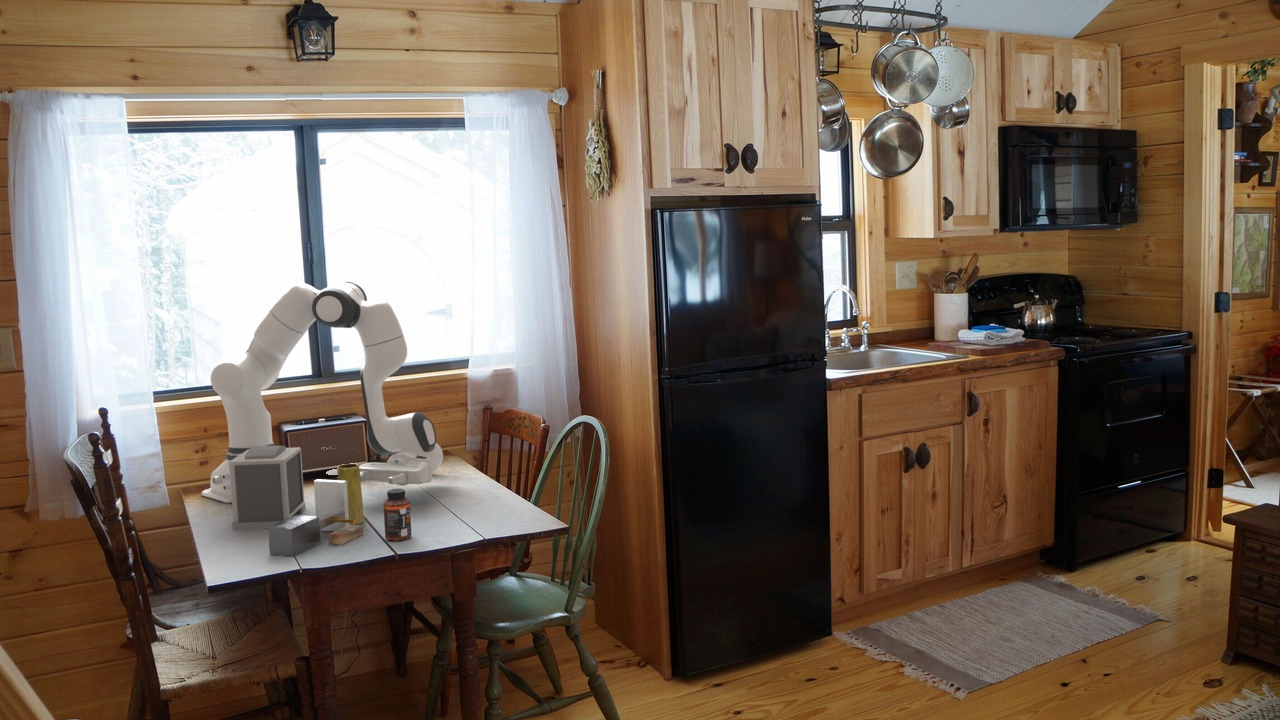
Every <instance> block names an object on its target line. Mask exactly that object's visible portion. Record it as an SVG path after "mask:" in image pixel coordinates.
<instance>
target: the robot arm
mask: <svg viewBox="0 0 1280 720" xmlns="http://www.w3.org/2000/svg"><path fill="white" fill-rule="evenodd" d="M316 321H317V322H318V323H319V324H320V325H323V326H325V327H328V328H335V329H339V328H341V329H342V328H343V329H351V328H354V329H355V330H356V331H357V333H358V335H359V337H360V340H361V344H362V347H363V350H364V363H363V366H362V367H360V368H361V369H360V373H359V378H360V387H361V393H362V401H363V406H364V412H365V413H364V414H365V417H366V418H365V420H366V440H367V444H368V445H369V447H370V449H371V450H372V451H374V452H375V453H376V454H377V455H379V456H388V455H391V456H389V458H388V459H387V462H377V461H376V462H365V463H362V464H359V465H360V481H361V483H365V482H376V483H377V482H378V483H388V484H390V485H397V486H401V487H402V486H407V485H421V484H425V483H431V482H432V481H433V473H434V472H436V471H437V470H438V469H439V468H440V466H441V464H442V462H443V459H444V453H443V450H442V447H441V446H440V445H439V444H438V442H437V436H436V435H437V433H436V430H435V426H434V423H433V421H432V420H431V419H430V418H429V417H428V416H427V415H426V414H424V413H423V412H421V411H416V412H410V413H406V414H402V415H398V416H393V417H388V416H387V414H386V408H385V402H384V395H383V385H384V382H385V381H386V380H387V379H388V378H389V377H390V376H391V375H393V374H395V373H396V372H397V371H398V370H399V369H401V367H402V366H403V364H404V363H405V362H406V359H407V356H408V346H407V343H406V339H405V336H404V333H403V330H402V328H401V324H400V321H399V320H398V317H397V315H396V314H395V312H394V310H393V308H392V305H390V304H389V303H388V302H387V301H384V300H381V299H375V300H370V301H368V299H367V295H366V292H365V291H364V288H362V287H361V286H360V285H359V284H357V283H354V282H352V281H341V282H337V283H334V284H331V285H329V286H327V287H325V288H322V289H321V290H320V289H319V290H318V289H316V288H315V287H314V286H312V285H309V284H307V283H304V282H297V283H294V284H292V285H291V286H290V287H288V288H287V289H286V290H285V291H284V292H283V293H282V294H281V295H280V296H279V297H278V298H277V299H276V301H275V302H274V303H273V304H272V305H271V307H270V308H269V309H268V310H267V312H266V313H265V315H264V316H263V317H262V319H261V320H260V321H259V322H258V324H257V325H256V326H255V328H254V329H253V332H252V338H251V340H250V341H249V344H248V346H247V347H246V349H245V350H244V351H242V353H240V354H239V355H235V356H232V357H228V358H226V359H224V360H222V361H221V362H220V363H218V364H217V365H216V366H215V367H214V368H213V369H212V371H211V374H210V384H211V387H212V388H213V390H214V392H215V393H216V394H218V395H219V398H220V400H221V404H222V406H223V409H224V411H225V416H226V420H227V431H228V441H229V444H228V447H223V448H222V449H223V453H225V460H224V461H223V462H222V463H220V465H219V466H218V467H217V468H215V469H214V470H213V471H212V472H211V474H210V487H209V488H207V489H204V490H202V491H201V496H203V497H206V498H209V499H213V500H217V501H220V502H223V503H232V497H231V484H230V470H229V462H230V461H231V460H233V459H234V458H236V457H237V456H239V455H240V454H242V453H243V452H245V451H247V450H248V449H251V448H252V447H262V446H275V443H274V441H273V431H272V430H273V428H272V416H271V414H270V412H269V411H268V410H267V408H266V406H265V403H264V400H263V395H262V391H264V390H267V389H268V388H270V387H271V386H272V385H273V384H274V383H276V381H277V380H278V378H279V376H280V371H281V370H282V368H283V366H284V364H285V363H286V360H287V358H288V356H289V355H290V353H291V352H292V351H293V349H294V348H295V347H296V346H297V344H298V343H299V342H300V340H301V339H302V337H303V336H304V335H305V333H306V332H308V330H309V328H310V327H311V326H312V325H313V323H314V322H316Z"/></svg>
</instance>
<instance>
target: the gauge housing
mask: <svg viewBox="0 0 1280 720" xmlns="http://www.w3.org/2000/svg"><path fill="white" fill-rule="evenodd" d="M267 531H268V532H267V533H268V545H269V555H270V556H277V555H284V556H283V557H289V556H294V557H296V556H297V554H298V555H300V554H302V553H304V552H306V551H308V550H310V549H312V548H314V547H313V546H315V545H317V544H319V543H321V530H320V526H319V517H316V515H315V516H314V515H313V516H312V515H301V514H300V515H299V514H296V515H293V516H292V517H291V518H289V519H286V520H284V521H282V522H279V523H277V524H274V525H272V526H270V527H268V529H267ZM319 545H320V544H319ZM317 546H318V545H317ZM311 547H312V548H311ZM315 547H316V546H315ZM309 548H310V549H309ZM305 550H306V551H305ZM301 552H302V553H301ZM299 553H300V554H299ZM295 555H296V556H295Z"/></svg>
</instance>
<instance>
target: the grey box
mask: <svg viewBox="0 0 1280 720" xmlns="http://www.w3.org/2000/svg"><path fill="white" fill-rule="evenodd" d="M229 470H230V484H231V497H232V502H231V508H232V520H233V521H232V530H234V531H241V530H242V531H243V530H265V529H267V528H268V527H270V526H272V525H274V524H277V523H279V522H282V521H284V520H286V519H289V518H291V517H293V516H295V514H297V513H298V512H302V513H303V512H305V510H306V509H305V508H306V502H305V493H304V492H305V491H304V489H305V488H304V477H303V461H302V448H301V447H299V446H298V447H286V446H285V445H274V446H262V447H252V448H251V449H248V450H247V451H245V452H243V453H242V454H240V455H239V456H237V457H236V458H234V459H233V460H231V461H230V462H229ZM298 514H299V513H298ZM267 530H268V529H267Z"/></svg>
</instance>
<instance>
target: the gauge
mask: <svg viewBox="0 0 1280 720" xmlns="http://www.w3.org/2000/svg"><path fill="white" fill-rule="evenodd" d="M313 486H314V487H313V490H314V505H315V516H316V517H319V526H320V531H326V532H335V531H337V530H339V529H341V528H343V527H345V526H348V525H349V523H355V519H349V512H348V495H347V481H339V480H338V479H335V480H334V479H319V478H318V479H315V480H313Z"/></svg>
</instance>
